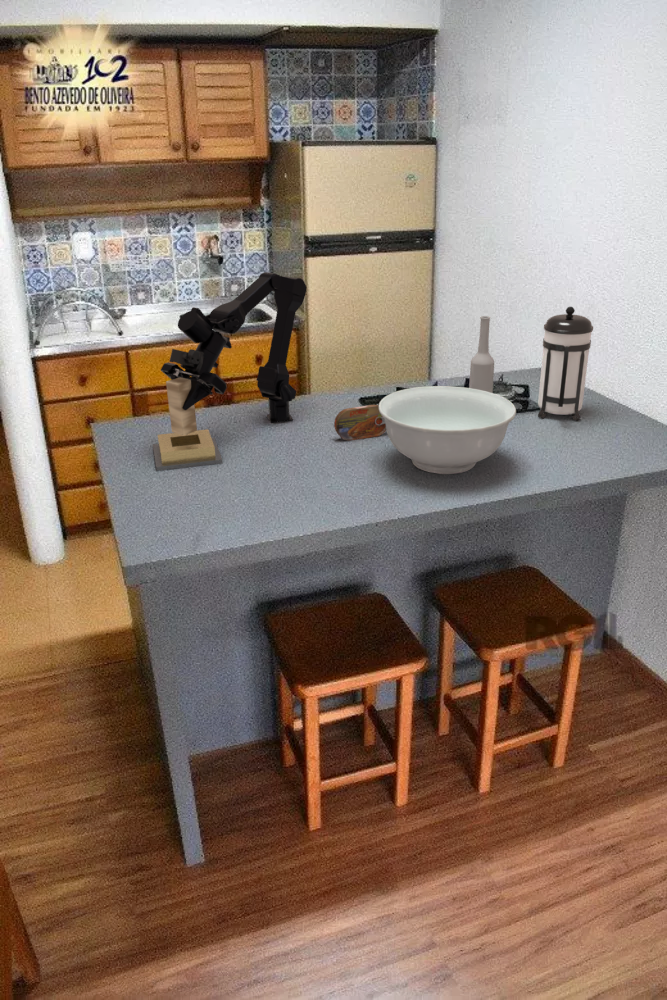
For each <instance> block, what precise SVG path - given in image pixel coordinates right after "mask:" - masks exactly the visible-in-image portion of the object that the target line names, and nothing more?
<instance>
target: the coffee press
mask: <svg viewBox="0 0 667 1000" xmlns="http://www.w3.org/2000/svg"><path fill="white" fill-rule="evenodd" d="M574 313H575V308H574V307H573V306H568V307H567V308H566V309H565V314H556V315H553V316H551V317H549V318H548V319H547V321H546V322H545V324H544V325H543V330H544V335H543V336H544V338H543V340H542V347H543V349H542V360H541V370H540V381H539V388H538V389H539V390H538V403H537V405H538V408H539V409H540V410H539V412H538V414H537V417H538V418H540V419H542V420H543V419H545V418H546V416H547V415H549V414H553V415H561V416H562V415H565V416H567V415H569V416H571V417H572V420H573V421H574V422H576V421H577V422H578V421H580V420H581V414H580V410H582V408H583V402H584V396H585V395H584V394H585V386H586V378H587V370H588V363H589V362H588V361H589V354H590V349H591V345H592V340H591V338H592V337H591V336H592V333H593V331H594V326H593V325H592V322H591V320H590V319H589V318H588V317H586V316H583V315H579V314H574Z"/></svg>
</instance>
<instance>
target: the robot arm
mask: <svg viewBox="0 0 667 1000" xmlns="http://www.w3.org/2000/svg"><path fill="white" fill-rule="evenodd" d="M307 289H308V288H307V285H306V283H305V280H304V279H302V278H301V277H294V276H286V275H280V274H277V273H274V272H267V271H265V272H262V273H260V274H259V276H258V278H257V279H256V280H255V281H253V282H252V283H251V284H250V285H249V286H247V288H246V289H244V290H243V291H242V292H240V294H239V295H237V296H236V297H235V298H234V299H233V300H231V301H229V302H226V303H222V304H219V306H216V307H215V308H213V309H212V310H211V312H209V314H207V315H205V314H204V313H203V311H202V310H201V308H198V307H192V308H191V309H190V310H189V311H187V312H186V313H184V314H183V315H182V316H180V317H179V319H178V323H177V327H178V329H179V330H180V331H181V332H182V333H183V334H184V335H186V338H187V337H188V339H189V340H190V341H192V343H194V344H198V345H197V347H196V348H195V349H192V348H191V349H189V350H188V351H183V350H179V349H175V348H172V350H171V352H170V353H171V354H170V358H169V362H165V363H163V364H162V367H161V368H160V371H161V372H162V373H163V374H164V375H165V376H166V377H168V378H169V379H170V380H173V379H176V378H179V377H181V378H185V379H189V380H191V390H190V392H189V394H188V396H187V398H186V400H185V402H184V405H183V407H182V408H183V409H184V410H187V409H188V408H190V407H191V406H193V405H194V406H195V404H197V403H198V402H200V401H202V400H203V399H205V398H206V397H208V396H209V395H214V392H215V393H216V394H219V395H224V394H225V393H226V391H227V388H228V386H227V382H226V381H225V380H224V379H223V378H221V377H220V376H219V375H218V374H217V373H215V372H214V373H213V372H212V370H213V368H214V369H217V368H218V367H219V364H218V363H217V361H218V359H219V357H220V355H221V354H222V351H223V349H224V348H225V349H230V350H231V349H232V343H231V341H230V340H231V339H230V337H229V336H224V335H223V334H222V333H225V334H230V335H234V334H236V333H237V332H239V330H240V329H241V328H242V327H243V325H244V324H245V322H246V316H248V314H249V313H250V312H252V310H253V309H254V308H256V307H257V306H258V305H259V304H260V303H261V302H262V301H263V300H264V299H266V298H267V297H268V296H269V295H270V294H272V292H274V293H273V299H274V303H275V305H276V308H277V309H276V316H275V321H274V327H273V332H272V337H271V338H272V339H271V342H270V349H269V353H268V360H267V361H266V363H265V365H263V366H262V365H260V366H259V367H258V373H257V378H256V379H255V381H257V382H256V383H257V384H256V385H257V388H258V390H259V391H260V394H261V396H262V397H263V398H267V399H268V412H269V414H266V418H267V420H268V421H269V422H270V423H271V424H272V423H273V424H274V423H275V424H276V423H284V422H293V421H294V419H293V417H292V415H291V413H290V412H291V411H290V402H292V401H293V400H294V399H296V395H297V390H296V389H295V388H294V387H293V386H292V385H291V384H290V373H289V370H288V367H287V361H288V360H287V359H288V354H289V349H290V345H291V339H292V334H293V328H294V322H295V321H294V320H295V316H296V312H298V310H299V309H300V307H301V306H302V305H303V303H304V301H305V297H306V294H307ZM179 364H180V365H179ZM213 391H214V392H213Z"/></svg>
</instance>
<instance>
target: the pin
mask: <svg viewBox="0 0 667 1000" xmlns="http://www.w3.org/2000/svg"><path fill="white" fill-rule="evenodd" d="M165 384H166V385H165V386H166V393H167V401H168V403H167V404H168V411H169V416H170V417H169V418H170V427H171V433H177V434H180V435H183V436H184V435H187V434H189V433H192V432H195V431H197V430H198V426H197V417H196V407H195V406H196V405H195V404H194V405H193V406H191V407H190V408H188V409H187V410H184V409H183V408H182V407H183V405H184V402H185V400H186V398H187V396H188V394H189V392H190V390H191V380H189V379H185V378H181V377H179V378H176V379H173V380H171V379H170V380H167V381H165Z"/></svg>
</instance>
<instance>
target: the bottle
mask: <svg viewBox="0 0 667 1000" xmlns="http://www.w3.org/2000/svg"><path fill="white" fill-rule="evenodd" d="M479 319H480V323H479V324H480V325H479V338H478V339H479V340H478V347H477V353H476V354H475V355H474V356H473V357H472V358H471V359H470V368H469V369H470V370H469V382H468V383H469V385H468V388H471V389H477V390H482V391H486V392H490V393H493V391H494V377H495V376H494V375H495V360H494V358H493V357H492V355H491V354H490V351H489V350H490V349H489V348H490V347H489V344H490V342H489V339H490V337H489V336H490V323H491V320H490V319H491V316H488V315H481V316H479ZM493 394H494V393H493Z"/></svg>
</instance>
